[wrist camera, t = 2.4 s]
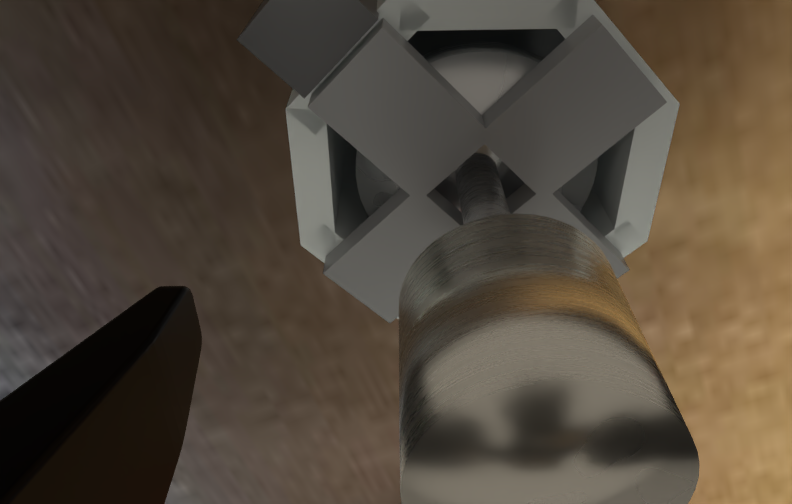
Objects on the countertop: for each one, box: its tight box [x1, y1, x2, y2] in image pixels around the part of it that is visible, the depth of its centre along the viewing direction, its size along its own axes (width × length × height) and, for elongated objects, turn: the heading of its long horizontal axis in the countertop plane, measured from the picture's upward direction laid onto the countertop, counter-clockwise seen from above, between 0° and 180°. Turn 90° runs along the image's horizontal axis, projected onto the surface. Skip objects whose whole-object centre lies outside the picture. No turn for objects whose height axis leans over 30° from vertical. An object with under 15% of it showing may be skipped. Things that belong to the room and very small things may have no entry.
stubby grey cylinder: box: [356, 41, 699, 504], centre depth 10 cm, size 5×5×8 cm
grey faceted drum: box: [237, 0, 680, 323], centre depth 14 cm, size 8×7×6 cm
